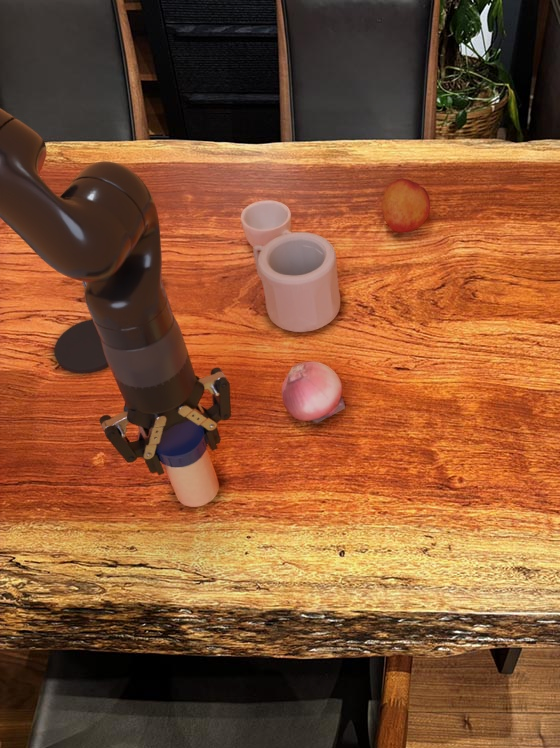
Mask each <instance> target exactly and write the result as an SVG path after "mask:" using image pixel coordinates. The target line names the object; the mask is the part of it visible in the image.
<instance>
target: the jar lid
mask: <svg viewBox="0 0 560 748" xmlns="http://www.w3.org/2000/svg"><path fill="white" fill-rule="evenodd" d="M207 449H208V439H207V436H206V433H205V431H204V427H203V426H201V425H200V426H198V425H197V424H195V423H194V422H192V421H191V420H189V421H186V422H184V423H181V424H177V425H175V426H173V427H172V428H170V429H168V430H166V431H164V432H162V435H161V440H160V443H159V444H157V446H156V450H155V452H156V454H157V456H158V458H159V460H160V463H161V465H163V464H164V465H167V466H169V467H185V466H188V465H190V464H193V463H194V462H196V461H197V460H199V459H200V458H201V457H202V455H203V454H204V453H205V451H206V450H207ZM164 465H163V466H164Z"/></svg>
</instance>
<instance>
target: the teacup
mask: <svg viewBox="0 0 560 748" xmlns="http://www.w3.org/2000/svg"><path fill="white" fill-rule="evenodd" d="M240 222H241V223H240V224H241V227H242V230H243V233H244V237H245V239H246V241H247V243H248V244H249V245H250V246H251V247H252V248H253V247H254V246H256V245H260V246H265V245H266V244H267V243H268V242H270V241H271V240H273V239H274V238H276V237H278V236H281V235H284V234H287V233H293V232H292V212H291V210H290V208H289V207H288V206H287V205H286V204H285V203H283V202H280V201H277V200H272V199H270V200H269V199H265V200H259V201H255V202H253V203H251V204H249V205H247V206H246V207H245V208H243V210H242V212H241V214H240Z"/></svg>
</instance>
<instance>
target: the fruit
mask: <svg viewBox="0 0 560 748" xmlns="http://www.w3.org/2000/svg"><path fill="white" fill-rule="evenodd" d="M430 212H431V199H430V195H429V194H428V191H427V190H426V188H425V187H423V186H422V185H420V184H419V183H416V182H415V181H412V180H411V179H409V178H404V177H403V178H398V179H396V180H394V181H392V182H390V184H389V185H388V186H387V187H386V189H385V191H384V193H383V196H382V200H381V214H382V216H383V219H384V220H385V222H386V224H387V226H388V227H389V228H390V229H391V230H392V231H394V232H396V233H398V234H399V233H401V234H402V233H403V234H404V233H411V232H414V231H416V230H417V229H419V228H420V227H421V226H422V225H423V224H424V223H425V222H426V221H427V218H428V217H429V215H430Z"/></svg>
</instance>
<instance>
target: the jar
mask: <svg viewBox="0 0 560 748" xmlns="http://www.w3.org/2000/svg"><path fill="white" fill-rule="evenodd" d="M162 466H163V467H164V471H165V472H166V475H167V477H168V479H169V482H170V484H171V486H172V489H173V491H174V492H173V493H174V494H175V496H176V498H177V500H178V502H180V503H181V504H182V505H184V506H186V507H189V508H190V507H191V508H195V507H196V508H197V507H202V506H205V505H208V503H210V502H211V501H213V499H214V498H216V496H217V494H218V493H219V489H220V482H219V479H218V475H217V473H216V470H215V467H214V463H213V461H212V458H211V455H210V452H209V449H208V448H207V450H206V451H205V453H204V454H203V455H202V457H201V458H200V459H199V460H197V461H196V462H194V463H193V464H190V465H188V466H185V467H169V466H167V465H164V464H162Z"/></svg>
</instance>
